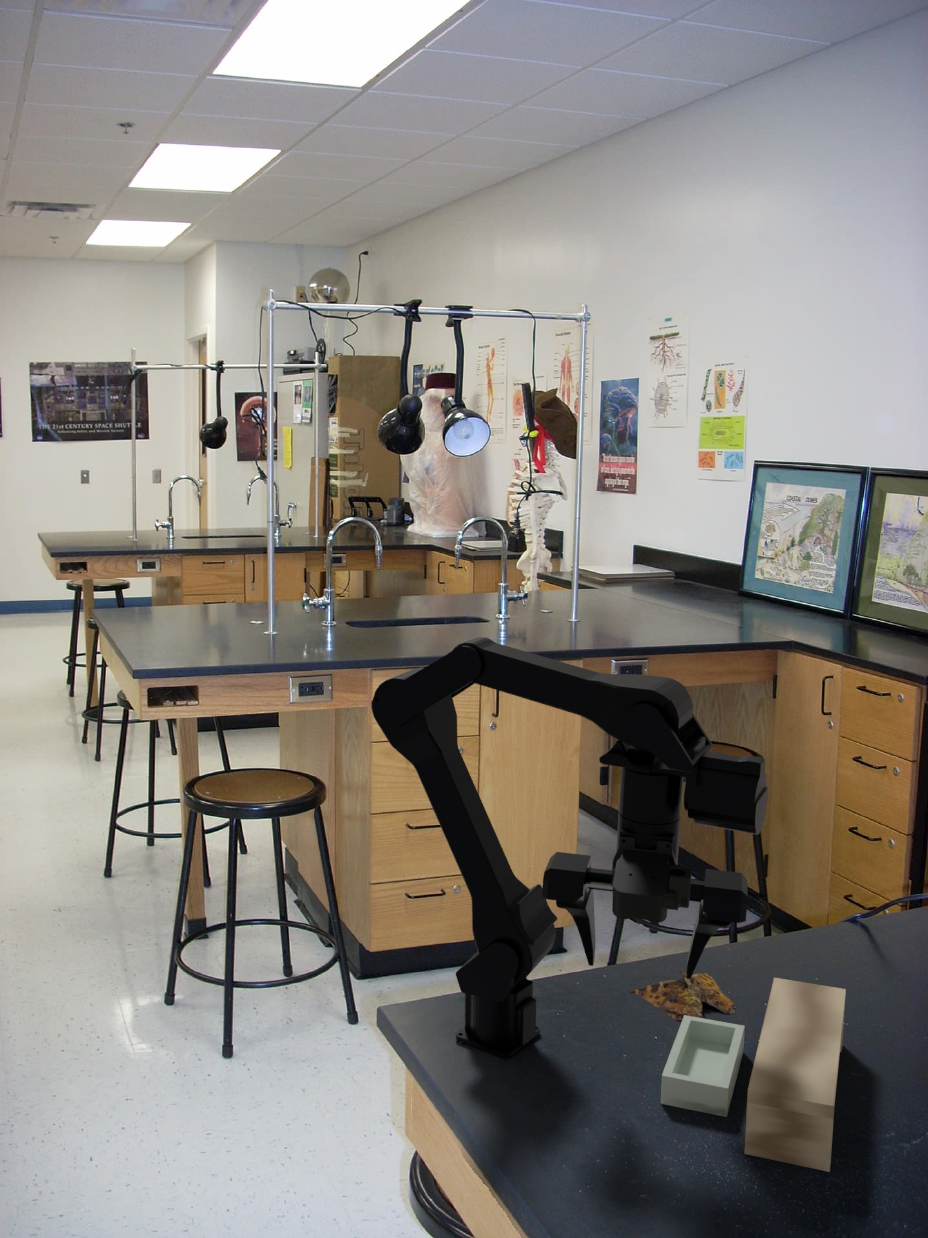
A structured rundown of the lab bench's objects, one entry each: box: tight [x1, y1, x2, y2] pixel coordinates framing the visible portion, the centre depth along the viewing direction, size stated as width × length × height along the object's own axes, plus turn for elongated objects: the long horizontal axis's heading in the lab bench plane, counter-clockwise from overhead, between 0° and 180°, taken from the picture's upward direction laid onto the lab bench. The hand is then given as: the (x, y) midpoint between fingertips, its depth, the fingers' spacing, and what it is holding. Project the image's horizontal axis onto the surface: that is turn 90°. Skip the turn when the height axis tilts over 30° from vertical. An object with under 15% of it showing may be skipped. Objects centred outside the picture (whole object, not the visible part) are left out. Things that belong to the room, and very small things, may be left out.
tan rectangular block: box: [744, 977, 847, 1173], centre depth 110 cm, size 7×22×6 cm, turn 160°
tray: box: [660, 1015, 746, 1118], centre depth 113 cm, size 6×12×3 cm, turn 160°
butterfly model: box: [629, 971, 738, 1022], centre depth 128 cm, size 9×12×3 cm
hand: (639, 970), depth 113 cm, fingers open, 9 cm apart
